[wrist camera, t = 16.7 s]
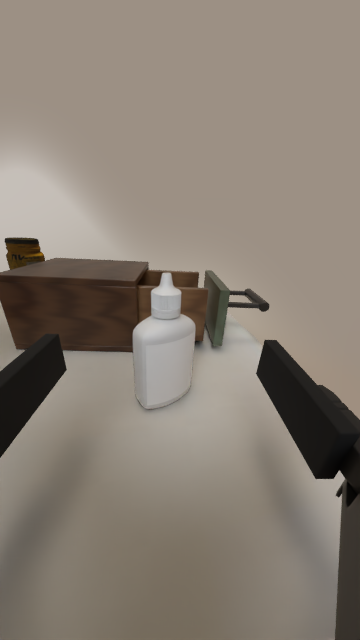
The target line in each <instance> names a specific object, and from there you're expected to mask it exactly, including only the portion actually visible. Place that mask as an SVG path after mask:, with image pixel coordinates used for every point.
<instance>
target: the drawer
mask: <svg viewBox="0 0 360 640" xmlns="http://www.w3.org/2000/svg"><path fill="white" fill-rule="evenodd" d="M162 273H171V275H172V282H173V286H174V287H175V288H177V289H179V290H180V291H181V311H180V314H183V315H185V316H187V317H189V318H190V319H191V320H192V321H193V322H194V323H195V328H196V330H195V341H203V335H204V327H205V323H206V326H207V329H208V332H209V335H210V338H211V341H212V344H213V346H222V340H223V334H224V327H225V321H226V315H227V308H228V307H237V308H259V309H260V310H261V311H263V312H264V311H267V310H268V309H269V304H268V303H267V302H266V301H265V300H263V299H262V298H261V297H260V296H258V295H257V294H256V293H254V292H253V291H252V290H251V289H246V290H245V291H230V290H229V289H228V288H227V287H226V286H225V284H224V283H223V282H222V281H221V280H220V279H219V278H218V277H217V276H216V275H215V274H214V272H213V271H205V281H204V288H198V278H199V273H198V272H185V271H184V272H183V271H161V270H146V271H145V273H144V274H143V276H142V277H141V279H140V281H139V282H138V284H137V285H136V286H137V308H138V324H139V323H140V322H142V321H143V320H144V319H146V318H148V317H149V316H151V315H152V314H151V291H152V290H153V289H154V288H157V287H158V286H159V285H160V282H161V277H162ZM229 295H245V296H246V297H247V298H248V299H249V300H250V301H251V302H252V303H238V302H229Z"/></svg>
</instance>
